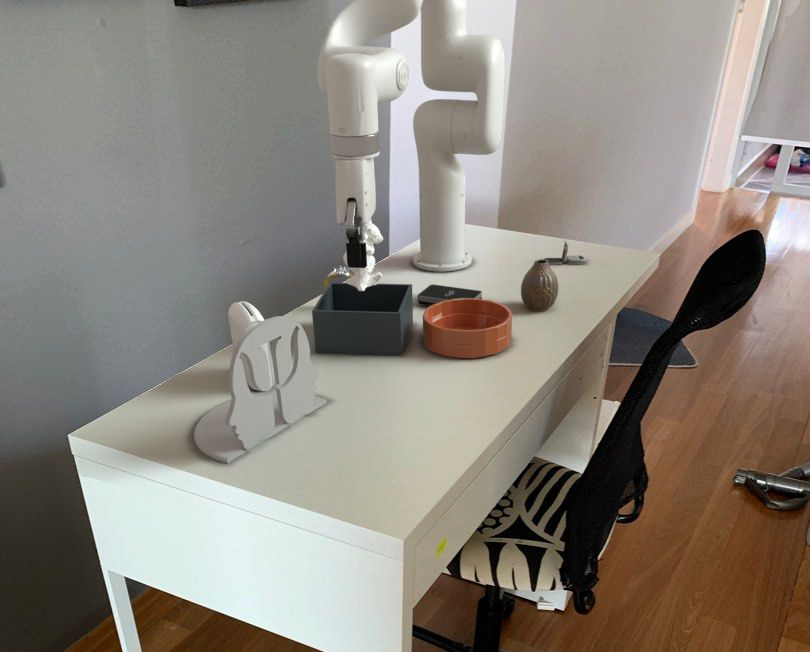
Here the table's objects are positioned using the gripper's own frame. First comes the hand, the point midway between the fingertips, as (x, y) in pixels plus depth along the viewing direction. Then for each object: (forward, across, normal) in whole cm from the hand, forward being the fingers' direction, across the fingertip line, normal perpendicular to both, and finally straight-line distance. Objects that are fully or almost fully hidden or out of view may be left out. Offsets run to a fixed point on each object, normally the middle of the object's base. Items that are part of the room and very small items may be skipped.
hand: (361, 259), depth 143 cm
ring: (+14, -14, -7) cm, 21 cm away
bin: (+14, 0, 0) cm, 14 cm away
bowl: (+14, 0, +18) cm, 23 cm away
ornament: (+14, +32, -12) cm, 37 cm away
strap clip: (+14, -44, +35) cm, 58 cm away
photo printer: (+14, +18, -15) cm, 28 cm away
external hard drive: (+14, -18, +13) cm, 26 cm away
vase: (+14, -17, +30) cm, 37 cm away
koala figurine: (+4, 0, 0) cm, 4 cm away
